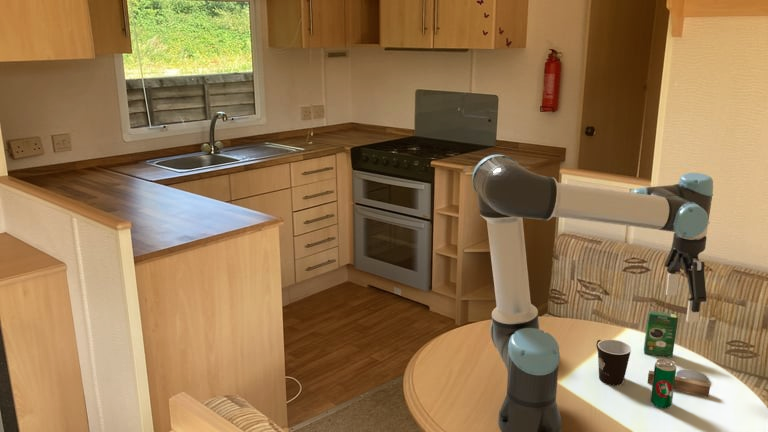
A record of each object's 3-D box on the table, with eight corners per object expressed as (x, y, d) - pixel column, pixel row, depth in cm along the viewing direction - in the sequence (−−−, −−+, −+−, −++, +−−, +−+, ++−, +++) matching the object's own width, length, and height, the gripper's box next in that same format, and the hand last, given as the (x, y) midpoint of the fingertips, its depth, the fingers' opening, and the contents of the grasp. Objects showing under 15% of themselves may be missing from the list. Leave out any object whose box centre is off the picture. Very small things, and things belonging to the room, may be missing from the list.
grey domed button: (674, 382, 175) (675, 379, 174) (677, 369, 181) (678, 366, 181) (707, 389, 171) (707, 387, 171) (709, 376, 177) (709, 373, 177)
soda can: (658, 396, 168) (663, 355, 165) (675, 405, 164) (681, 363, 161) (646, 402, 165) (650, 361, 162) (663, 411, 161) (668, 369, 158)
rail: (647, 383, 174) (648, 373, 174) (648, 380, 176) (649, 370, 175) (708, 397, 167) (709, 387, 166) (708, 394, 169) (710, 384, 168)
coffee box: (672, 353, 190) (677, 313, 186) (673, 358, 187) (678, 317, 184) (643, 349, 193) (648, 309, 189) (643, 354, 190) (648, 313, 186)
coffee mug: (630, 389, 172) (633, 355, 169) (596, 386, 173) (599, 353, 170) (623, 367, 183) (626, 335, 180) (592, 364, 184) (594, 333, 181)
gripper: (728, 254, 149) (717, 332, 157) (685, 214, 172) (677, 284, 180) (696, 256, 149) (686, 333, 157) (656, 216, 173) (650, 285, 180)
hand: (681, 307), depth 169 cm, fingers open, 13 cm apart
